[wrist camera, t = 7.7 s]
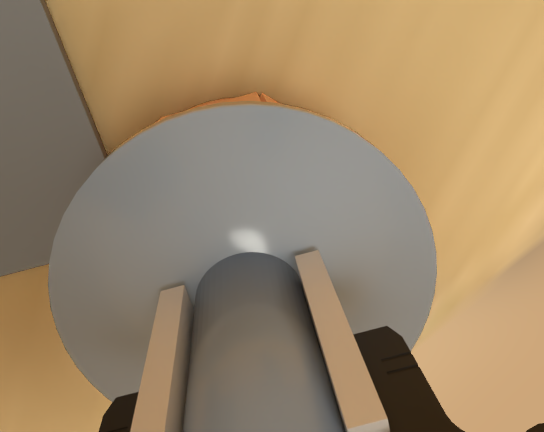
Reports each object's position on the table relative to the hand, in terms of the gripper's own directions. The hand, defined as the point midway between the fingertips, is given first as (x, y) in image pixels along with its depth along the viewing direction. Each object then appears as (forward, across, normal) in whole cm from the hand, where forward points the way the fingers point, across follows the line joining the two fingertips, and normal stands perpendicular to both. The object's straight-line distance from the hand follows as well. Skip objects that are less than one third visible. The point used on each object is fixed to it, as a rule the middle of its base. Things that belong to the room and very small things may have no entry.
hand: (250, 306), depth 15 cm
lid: (+1, 0, 0) cm, 1 cm away
